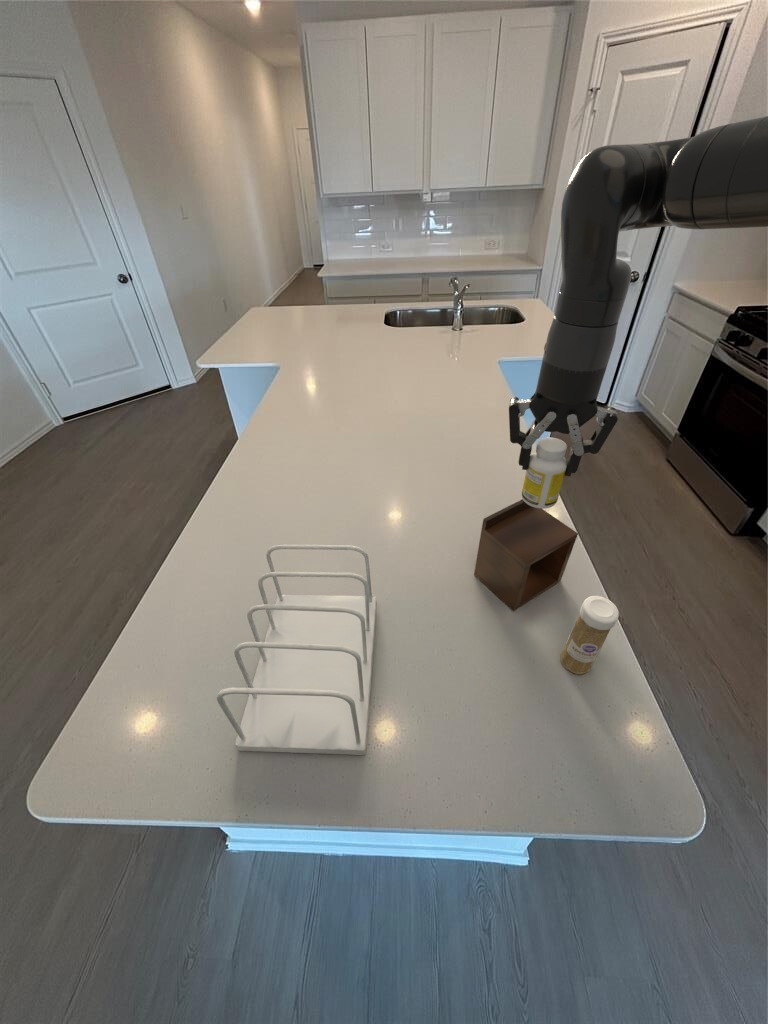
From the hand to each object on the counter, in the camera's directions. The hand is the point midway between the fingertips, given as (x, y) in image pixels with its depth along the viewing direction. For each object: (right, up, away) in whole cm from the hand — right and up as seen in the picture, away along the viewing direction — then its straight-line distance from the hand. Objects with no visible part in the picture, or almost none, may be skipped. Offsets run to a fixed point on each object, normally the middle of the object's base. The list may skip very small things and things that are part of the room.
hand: (546, 469), depth 65 cm
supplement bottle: (0, -4, +4) cm, 6 cm away
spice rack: (+1, -18, +16) cm, 24 cm away
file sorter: (-34, -30, +3) cm, 46 cm away
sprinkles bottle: (+6, -29, +3) cm, 30 cm away
